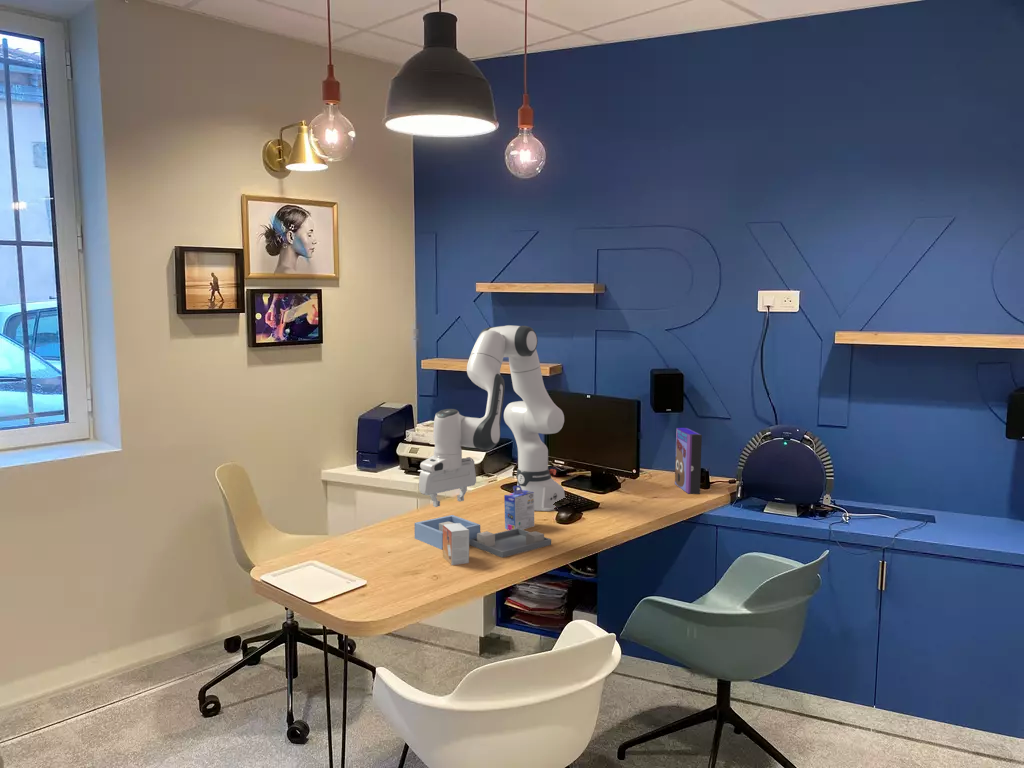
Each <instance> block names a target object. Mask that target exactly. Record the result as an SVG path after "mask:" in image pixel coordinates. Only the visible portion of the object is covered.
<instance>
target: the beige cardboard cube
mask: <svg viewBox="0 0 1024 768" xmlns="http://www.w3.org/2000/svg"><path fill="white" fill-rule="evenodd" d="M445 524H455V523H452V522H449V521H448V522H444V523H439V531H442V532H443V525H445Z"/></svg>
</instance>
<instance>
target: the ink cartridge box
mask: <svg viewBox="0 0 1024 768" xmlns="http://www.w3.org/2000/svg"><path fill="white" fill-rule="evenodd" d="M517 488H520V490H517ZM512 490H513V492H511V493H508V494H504V496H503V497H504V529H505V530H506V531H508V530H512V529H516V528H519V529H522V530H525V529H526V530H527V529H531V528H534V527H535V511H534V492H531V491H526V490H522V489H521V487H520V485H518V486H517V485H513V486H512Z"/></svg>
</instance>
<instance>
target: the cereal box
mask: <svg viewBox="0 0 1024 768" xmlns="http://www.w3.org/2000/svg"><path fill="white" fill-rule="evenodd" d="M675 434H676V437H675V465H674V466H675V467H674V469H675V470H674V471H675V472H674V485H675V486H677V487H678V488H679V489H680V490H682V491H683V492H685V493H686V494H687V495H700V494H701V472H702V469H701V467H702V446H703V445H702V442H703V441H702V439H703V435H702V434H701V433H699V432H696V431H695V430H693V429H690V428H689V427H676V433H675Z"/></svg>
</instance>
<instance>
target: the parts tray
mask: <svg viewBox="0 0 1024 768" xmlns="http://www.w3.org/2000/svg"><path fill="white" fill-rule="evenodd" d="M530 532H531V531H528V530H525V529H523V530H522V529H519V528H516V529H512V530H504V531H500V532H497V533H494V534H495V545H493V546H488V545H485V544H482V543H480V542H477V538H474V539H470V543H469V546H471V547H474V548H476V549H479V550H481V551H484V552H487V553H489V554H491V555H494V556H496V557H499V558H501V559H502V558H506V557H510V556H514V555H518V554H522V553H527V552H529V551H533V550H537V549H540V548H544V547H549V546H551V545H552V539H551V538H548V537H545V536H544V541H540V542H536V543H532V544H528V545H526V533H530Z"/></svg>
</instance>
